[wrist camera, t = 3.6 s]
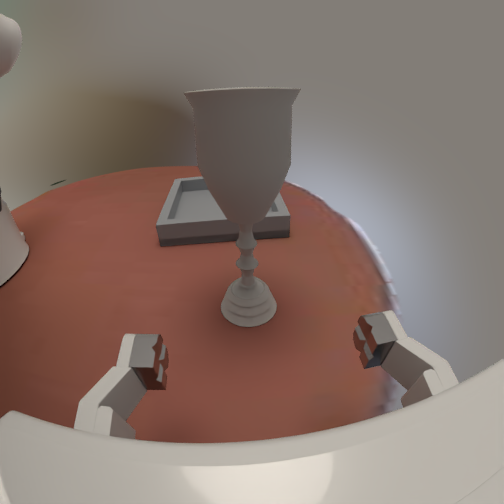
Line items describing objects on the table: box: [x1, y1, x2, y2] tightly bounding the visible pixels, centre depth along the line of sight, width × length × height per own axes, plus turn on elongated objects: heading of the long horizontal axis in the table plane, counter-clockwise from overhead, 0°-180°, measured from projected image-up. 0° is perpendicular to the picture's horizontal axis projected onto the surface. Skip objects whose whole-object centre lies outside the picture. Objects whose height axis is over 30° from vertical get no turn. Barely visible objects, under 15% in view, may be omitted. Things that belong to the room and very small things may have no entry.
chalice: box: [184, 87, 301, 327], centre depth 20 cm, size 7×7×18 cm
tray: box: [156, 177, 290, 246], centre depth 39 cm, size 16×16×3 cm
